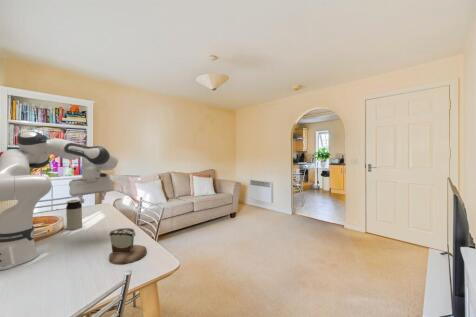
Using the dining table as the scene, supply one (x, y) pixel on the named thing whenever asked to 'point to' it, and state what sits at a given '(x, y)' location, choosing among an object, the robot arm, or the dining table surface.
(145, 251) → the walnut trivet
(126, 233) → the food container
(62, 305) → the dining table surface
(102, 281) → the dining table surface
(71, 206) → the travel mug
